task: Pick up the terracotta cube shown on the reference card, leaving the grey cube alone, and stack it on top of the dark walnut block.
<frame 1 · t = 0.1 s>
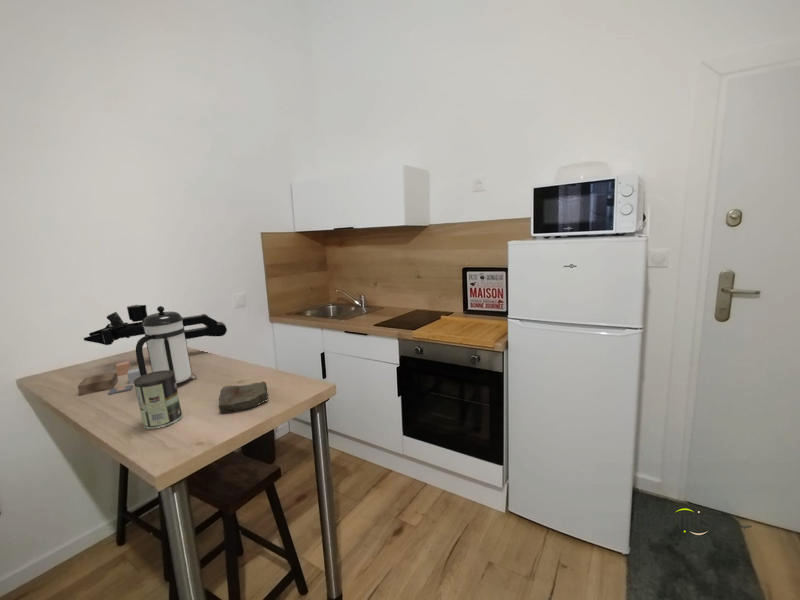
hand: (86, 336, 159), 17 cm above the table, tool horizontal, fingers open, 9 cm apart
reference card: (121, 390, 141), on the table
terracotta cube: (124, 373, 161), on the table
walnut block: (100, 388, 146), on the table
grey cube: (137, 381, 150), on the table
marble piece: (244, 402, 125), on the table
coffee can: (163, 421, 115), on the table
coffee press: (172, 385, 143), on the table
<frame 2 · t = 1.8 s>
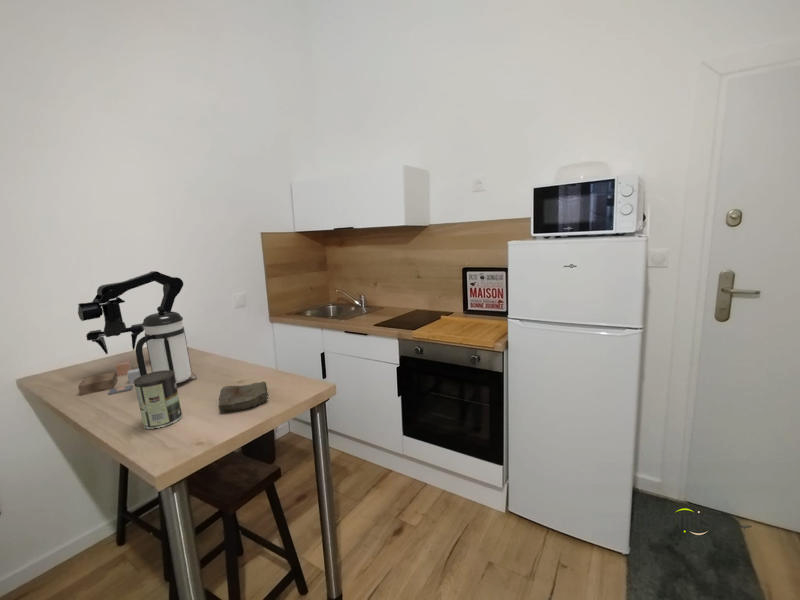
hand: (120, 351, 159), 9 cm above the table, tool pointing down, fingers open, 9 cm apart
nothing on the table moved.
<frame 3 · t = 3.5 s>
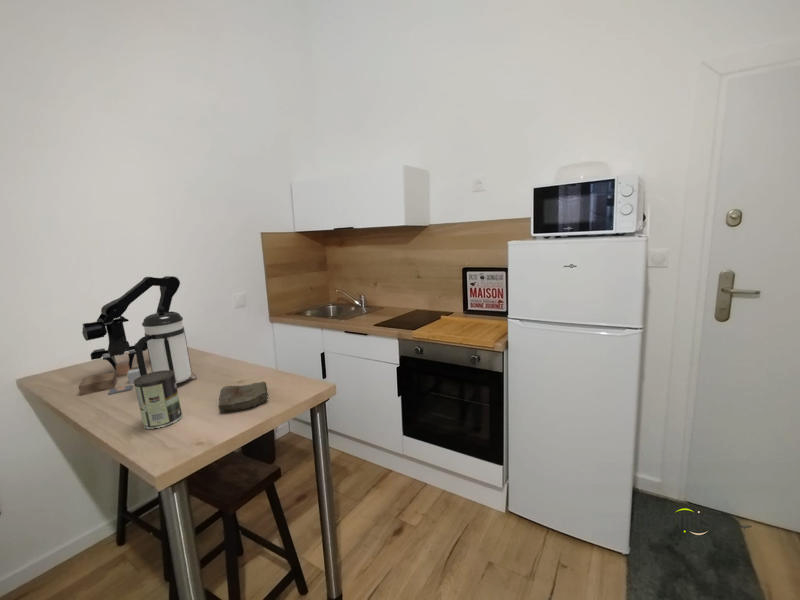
hand: (124, 369, 160), 1 cm above the table, tool pointing down, fingers closed on terracotta cube, 4 cm apart
terracotta cube: (124, 373, 161), on the table, touching gripper
everything else where it was.
when the fingers open (7 cm above the table, at t = 7.6 s): terracotta cube drops 2 cm, point 4 cm above the table.
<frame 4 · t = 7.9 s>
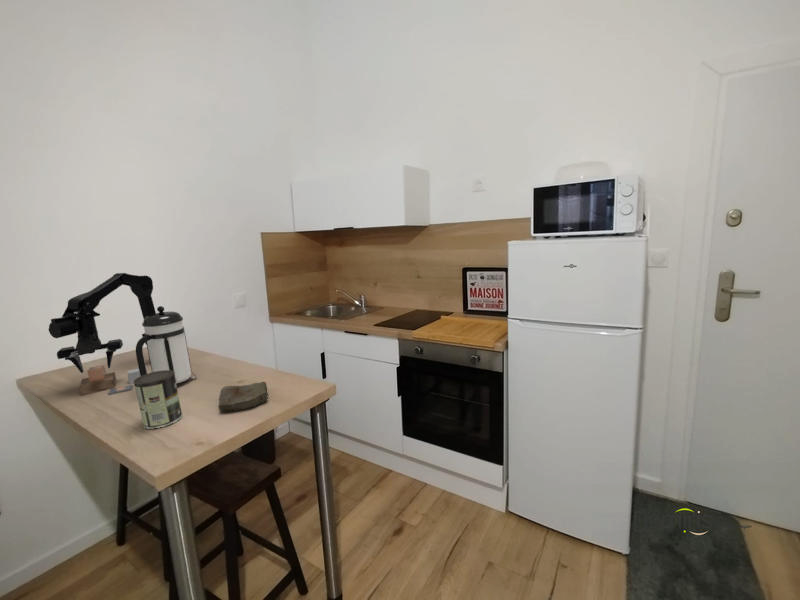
hand: (96, 370, 145), 7 cm above the table, tool pointing down, fingers open, 8 cm apart
terracotta cube: (98, 378, 145), point 4 cm above the table
everything else where it was.
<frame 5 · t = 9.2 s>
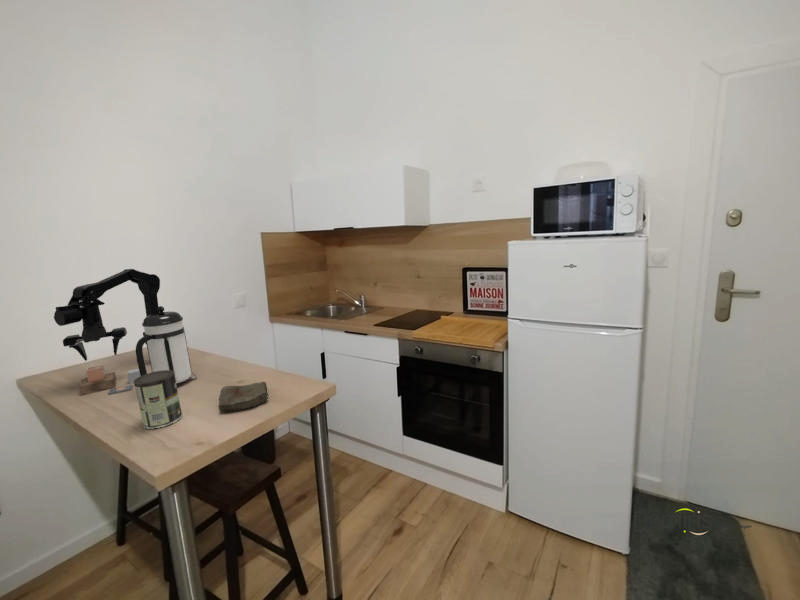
hand: (101, 357, 148), 11 cm above the table, tool pointing down, fingers open, 9 cm apart
nothing on the table moved.
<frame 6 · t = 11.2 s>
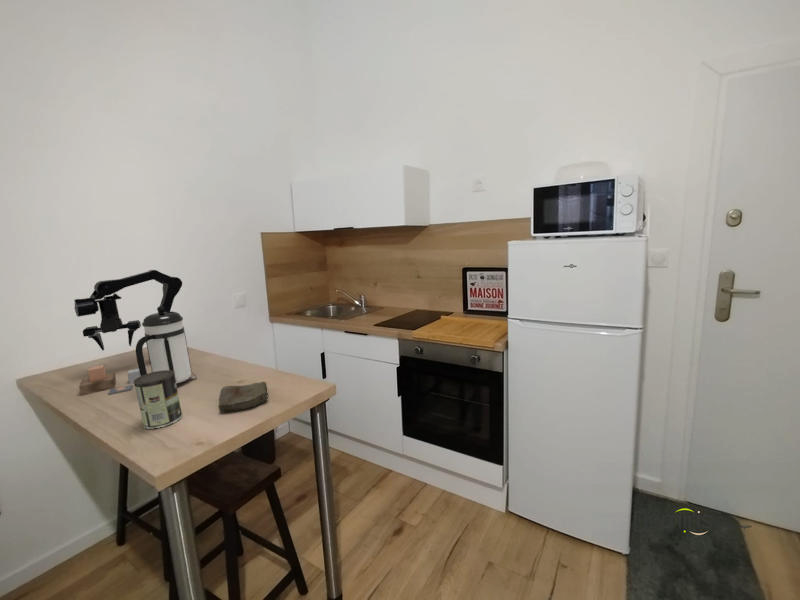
hand: (117, 348, 159), 11 cm above the table, tool pointing down, fingers open, 9 cm apart
terracotta cube: (98, 378, 145), point 4 cm above the table, touching walnut block
walnut block: (99, 388, 146), on the table, touching terracotta cube
everything else where it was.
at the end: terracotta cube inside the target area on the walnut block (0.4 cm from its centre), point 4.0 cm above the walnut block's base; terracotta cube tilted 0°; the gripper is holding nothing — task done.
